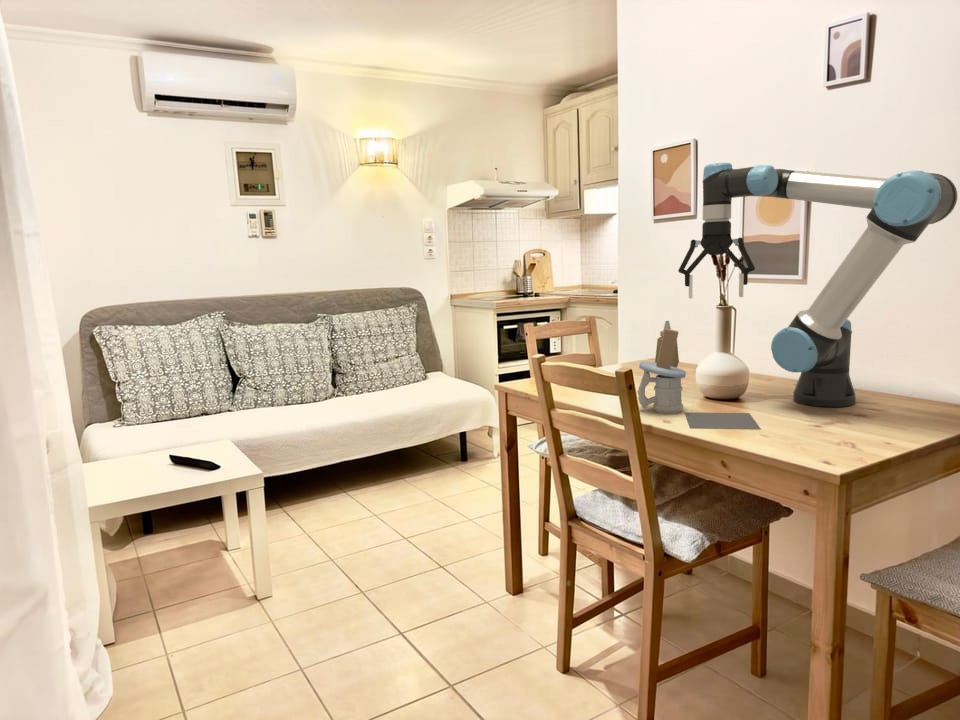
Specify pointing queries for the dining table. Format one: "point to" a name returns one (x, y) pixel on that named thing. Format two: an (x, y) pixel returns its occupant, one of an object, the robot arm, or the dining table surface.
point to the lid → (665, 357)
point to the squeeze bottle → (675, 356)
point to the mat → (721, 421)
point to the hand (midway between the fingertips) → (715, 297)
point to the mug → (662, 393)
